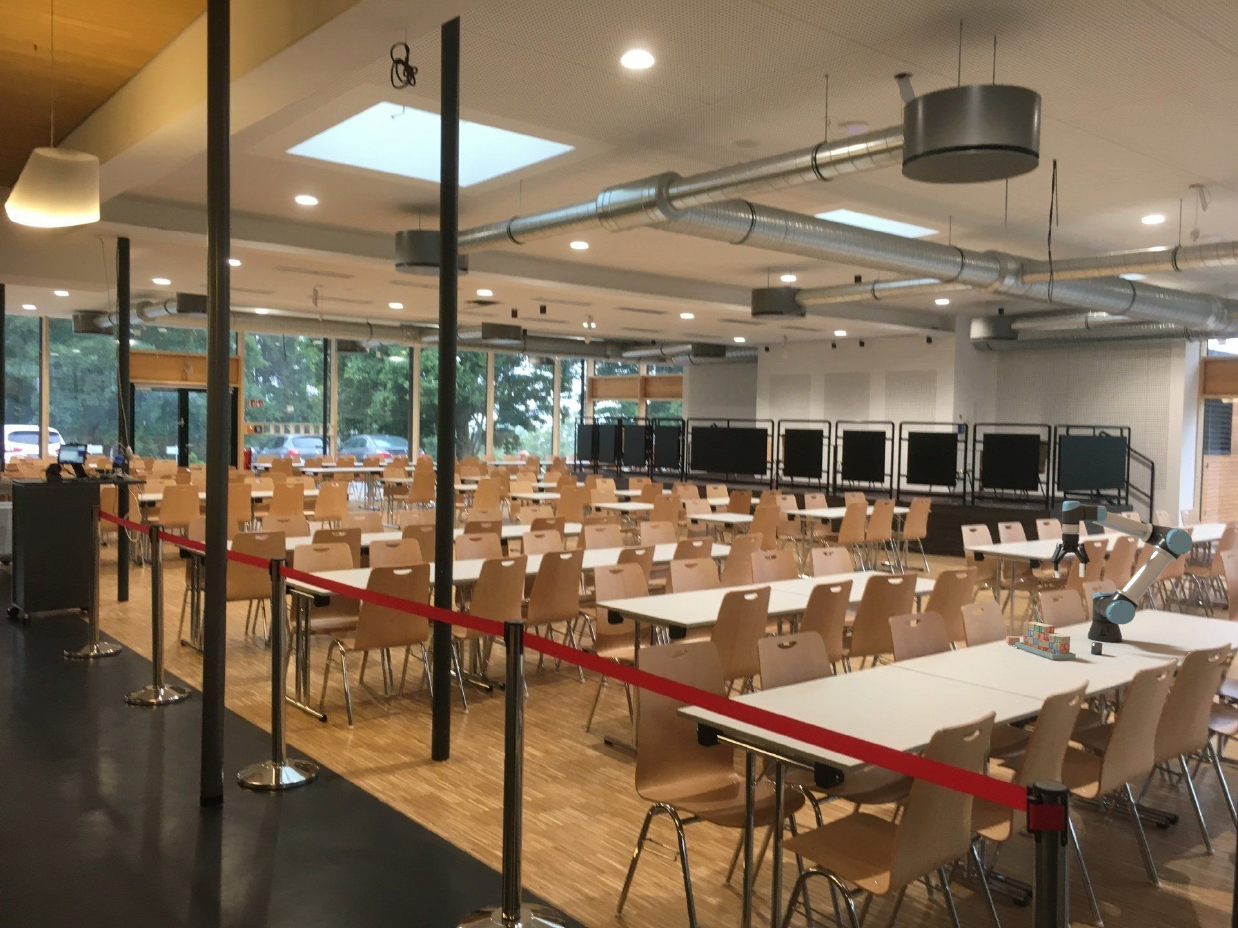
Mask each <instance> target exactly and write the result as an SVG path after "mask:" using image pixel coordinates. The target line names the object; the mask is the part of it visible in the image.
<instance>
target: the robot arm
mask: <svg viewBox="0 0 1238 928" xmlns="http://www.w3.org/2000/svg"><path fill="white" fill-rule="evenodd" d="M1061 511H1062V514H1061V515H1062V519H1061V521H1062V524H1061V528H1062V529H1061V530H1062V531H1061V532H1062V534H1061V541H1062V543H1060V542H1057V543H1056V547H1055V549H1054V552H1053V554H1052V555H1051V558H1050V560H1049V561H1050V563H1052V564H1053V567H1054V568H1053V571H1054V578H1056V579H1061V564H1060V563H1061V562H1062V560H1063V559H1064V557H1065V556H1066V555H1068V554H1074V555H1075V556H1076V557H1077V559H1078V560H1079V561H1080V563H1079V565H1078V567H1079V575H1078V576H1079V578H1085V576H1086V575H1085V573H1086V572H1085V571H1087V569H1086V567H1087V565H1088V563H1090V562H1091V561H1090V558H1089V555H1088V552H1087V550H1086V548H1085V543H1084V542H1079V541H1080V522H1088V523H1092V524H1095V525H1098V526H1100V527H1105V528H1107V529H1110V530H1112V531H1117V532H1119V533H1121V534H1122V533H1123V534H1125V535H1128V536H1130V537H1131V536H1132V537H1134V538H1137V539H1140V540H1141V542H1143V543H1145V544H1148V545H1150V546H1152V549H1153V550H1152V552H1151V553H1150V554H1149V556H1148V557H1147V558H1146V559H1145V561H1144V562H1143V563H1142V564H1141V566H1139V568H1138V569H1137V570H1136V572H1134V574H1133V575H1132V576H1131V578H1130V579H1129V580H1128V582H1126V584H1125V585H1124V587H1123V588H1121V589H1117V590H1115V592H1094V593H1093V595H1092V596H1093V597H1092V617H1091V621H1092V622H1091V624H1090V628H1089V631H1088V633H1087V639H1089V640H1092V641H1096V642H1104V643H1105V642H1107V643H1120V642H1122V641H1123V635H1122V632H1121V629H1120V626H1119V625H1127V624H1129V623H1131V622H1132V621H1133V620H1134V619H1135V616H1136V610H1137V609H1138V607H1139V606H1140V605H1139V601H1140V599H1141V598H1142V597H1143V596H1144V595H1145V594H1146V592H1147V591H1148V590H1149V589H1150V588H1151V586H1152V585H1153V584H1154V582H1155V581H1156V580H1157V579H1158V577H1160V575H1161V574H1162V573H1163V572H1164V570H1165V569H1166V568H1167V567H1168V566H1169V564H1170V563H1171V562H1176V561H1177V560H1178V559H1179V558H1180V557H1181V555H1184V554H1187V553H1188V552H1190V551H1191V549H1192V547H1193V539H1192V536H1191V534H1189V532H1187V531H1186V530H1184V529H1182V528H1178V527H1171V526H1170V527H1169V526H1162V525H1157V524H1153V523H1151V522H1150V523H1149V522H1148V523H1143V522H1141V521H1137V520H1134V519H1131V518H1128V517H1125V516H1123V515H1118V514H1115V513H1113V512H1110V511H1107V508H1106V506H1105V505H1100V504H1099V505H1091V504H1084V503H1081V502H1080V501H1078V500H1065V501H1063V502H1062V510H1061Z"/></svg>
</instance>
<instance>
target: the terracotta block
mask: <svg viewBox="0 0 1238 928" xmlns="http://www.w3.org/2000/svg"><path fill="white" fill-rule="evenodd" d="M1020 639H1021V638H1020V636H1016V635H1006V636H1005V643H1007V644H1008V645H1015V642H1021V641H1020ZM1007 644H1006V645H1007ZM1008 645H1007V646H1008Z"/></svg>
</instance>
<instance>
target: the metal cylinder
mask: <svg viewBox="0 0 1238 928" xmlns="http://www.w3.org/2000/svg"><path fill="white" fill-rule="evenodd" d="M1090 649H1091V650H1090V654H1091V655H1094V656H1102V655H1103V643H1102V642H1100V641H1092V642H1091V648H1090Z"/></svg>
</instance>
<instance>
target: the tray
mask: <svg viewBox="0 0 1238 928" xmlns="http://www.w3.org/2000/svg"><path fill="white" fill-rule="evenodd" d="M1023 642H1024V641H1020V642H1015V646H1014V648H1015V647H1017V648H1018V649H1017V648H1016V649H1017V650H1020V649H1021V650H1020V651H1023V650H1024V651H1023V652H1026V653H1030V654H1032V655H1036V656H1038V657H1041V658H1045V659H1047V660H1051V661H1073V660H1074V661H1075V660H1076V657H1077V656H1076V655H1077V654H1076V653H1073V652H1071V651H1070V652H1069V654H1051V653H1048V652H1045V651H1042V650H1039V649H1036V648H1032V647H1029V646H1026V645H1023Z"/></svg>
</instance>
